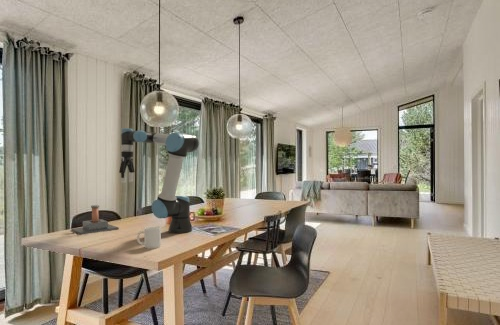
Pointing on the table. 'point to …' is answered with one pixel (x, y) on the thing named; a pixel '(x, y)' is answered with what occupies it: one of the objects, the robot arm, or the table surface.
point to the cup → (151, 237)
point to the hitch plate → (83, 231)
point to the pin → (95, 213)
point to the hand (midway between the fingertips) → (127, 182)
